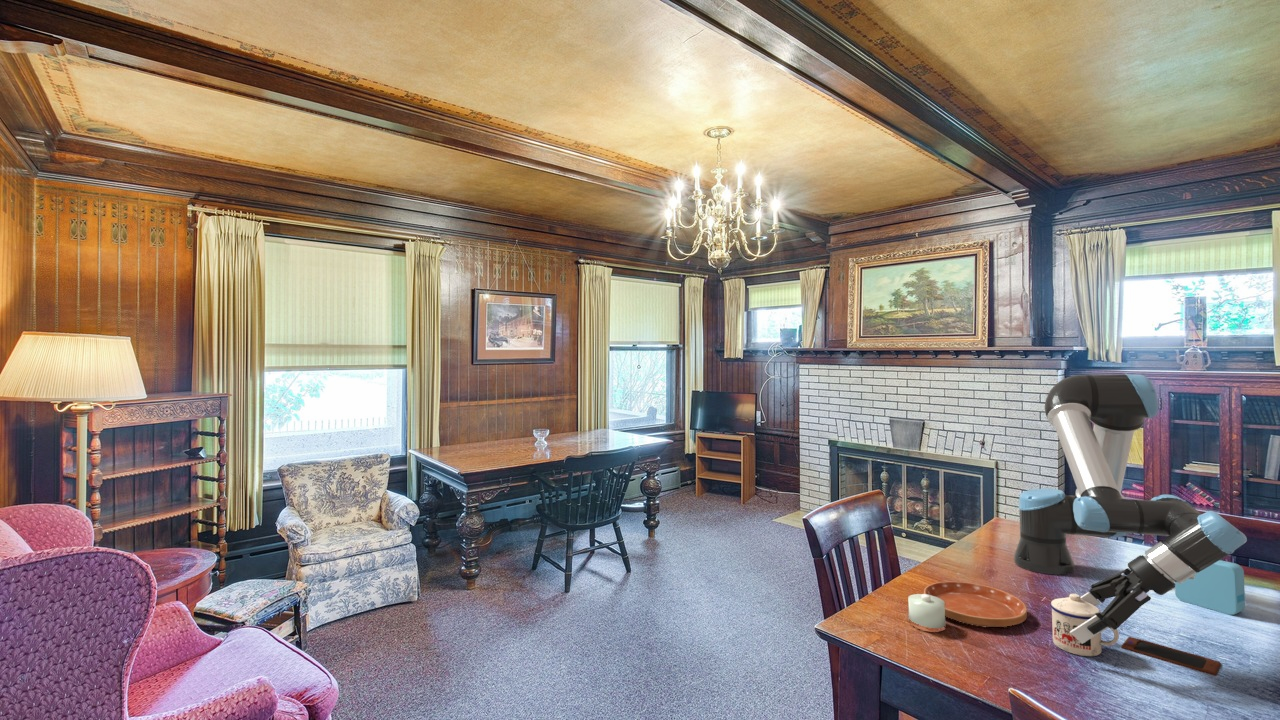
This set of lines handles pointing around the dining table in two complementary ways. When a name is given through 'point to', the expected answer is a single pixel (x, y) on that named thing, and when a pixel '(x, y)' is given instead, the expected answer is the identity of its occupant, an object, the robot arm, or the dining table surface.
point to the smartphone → (1172, 655)
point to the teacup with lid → (1069, 617)
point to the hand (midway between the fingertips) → (1072, 624)
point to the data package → (1215, 588)
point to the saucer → (978, 604)
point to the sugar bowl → (927, 610)
